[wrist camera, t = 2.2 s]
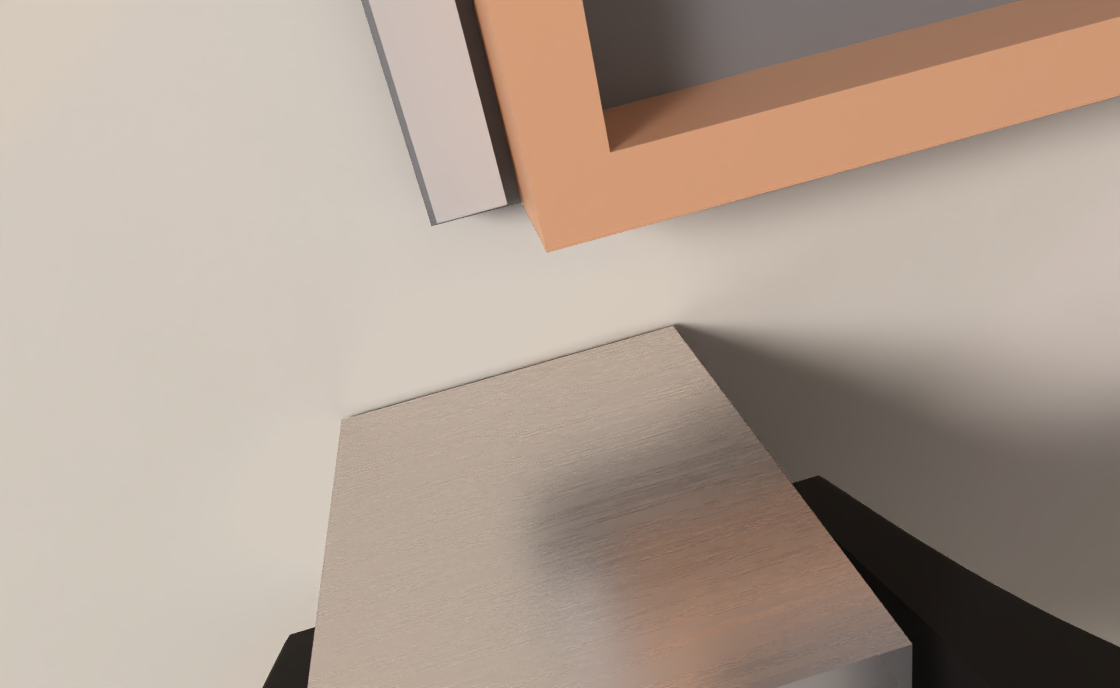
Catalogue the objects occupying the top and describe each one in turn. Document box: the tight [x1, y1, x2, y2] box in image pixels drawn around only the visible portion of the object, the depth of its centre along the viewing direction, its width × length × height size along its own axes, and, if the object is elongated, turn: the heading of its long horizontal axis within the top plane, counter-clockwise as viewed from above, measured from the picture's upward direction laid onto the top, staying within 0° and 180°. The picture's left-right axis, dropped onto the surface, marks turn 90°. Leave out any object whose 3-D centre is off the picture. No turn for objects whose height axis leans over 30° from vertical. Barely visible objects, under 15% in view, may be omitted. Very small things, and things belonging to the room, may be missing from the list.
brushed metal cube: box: [307, 326, 912, 688], centre depth 10 cm, size 6×5×6 cm
